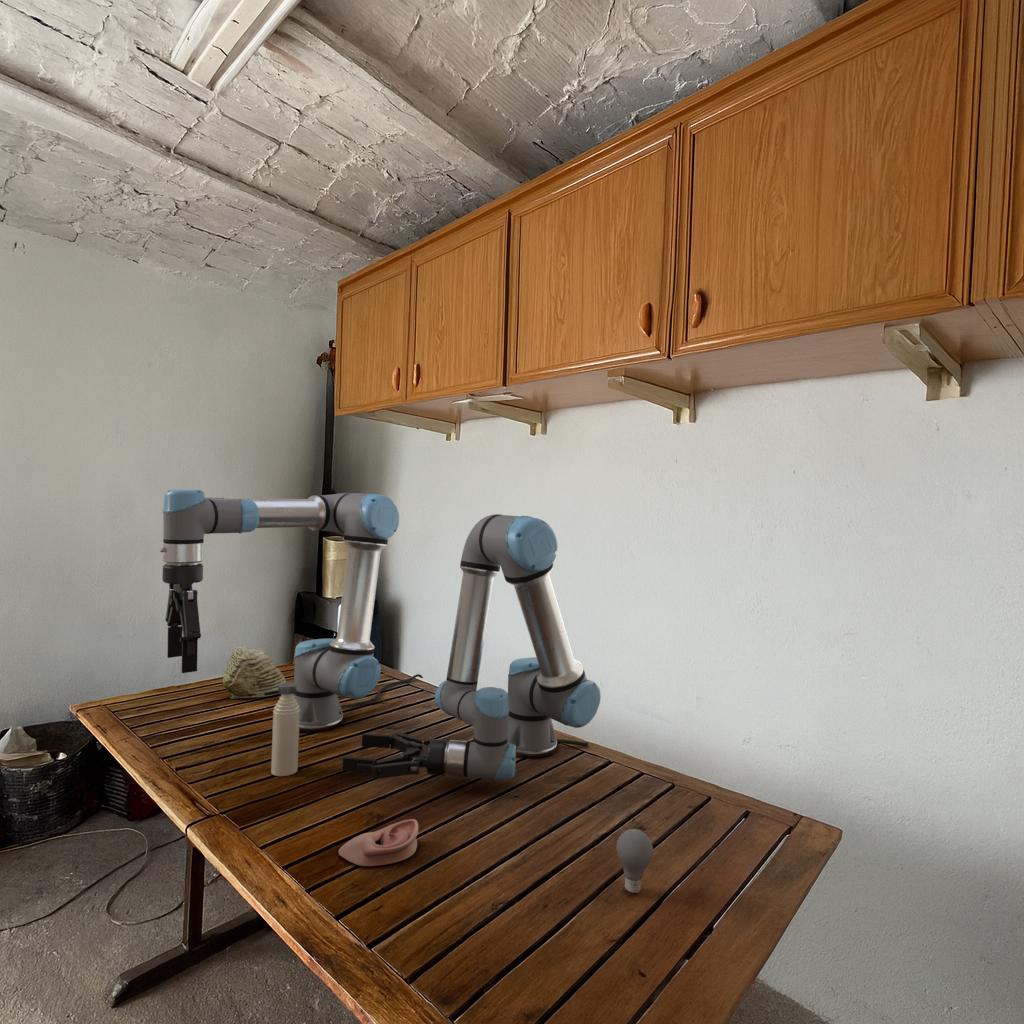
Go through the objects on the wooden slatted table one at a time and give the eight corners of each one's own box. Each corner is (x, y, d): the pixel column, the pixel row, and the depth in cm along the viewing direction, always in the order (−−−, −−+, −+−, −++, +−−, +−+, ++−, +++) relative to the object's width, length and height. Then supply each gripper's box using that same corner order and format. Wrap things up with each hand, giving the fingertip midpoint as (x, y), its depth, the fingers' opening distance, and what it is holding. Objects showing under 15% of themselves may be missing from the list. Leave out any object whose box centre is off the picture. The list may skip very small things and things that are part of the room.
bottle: (300, 765, 149) (303, 683, 148) (293, 776, 143) (296, 690, 142) (275, 765, 148) (278, 682, 148) (267, 776, 142) (270, 689, 142)
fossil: (218, 695, 195) (220, 647, 195) (278, 685, 208) (279, 640, 207) (228, 703, 189) (230, 653, 188) (289, 692, 201) (290, 645, 201)
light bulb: (610, 879, 108) (613, 822, 108) (644, 879, 109) (647, 822, 109) (619, 902, 102) (622, 840, 102) (655, 901, 103) (658, 840, 103)
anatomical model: (330, 838, 110) (359, 807, 121) (329, 861, 110) (358, 828, 121) (402, 850, 107) (425, 817, 119) (401, 873, 108) (424, 838, 119)
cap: (298, 689, 147) (298, 682, 147) (293, 694, 143) (293, 687, 143) (281, 689, 147) (281, 681, 147) (276, 694, 143) (276, 686, 143)
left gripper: (151, 557, 139) (150, 653, 140) (176, 571, 120) (174, 682, 121) (188, 556, 144) (187, 648, 145) (218, 569, 125) (216, 675, 126)
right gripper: (435, 800, 129) (333, 793, 130) (454, 752, 154) (368, 746, 155) (437, 764, 129) (334, 757, 130) (455, 721, 154) (369, 716, 155)
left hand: (181, 664), depth 133 cm, fingers open, 13 cm apart
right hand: (353, 751), depth 143 cm, fingers open, 13 cm apart
